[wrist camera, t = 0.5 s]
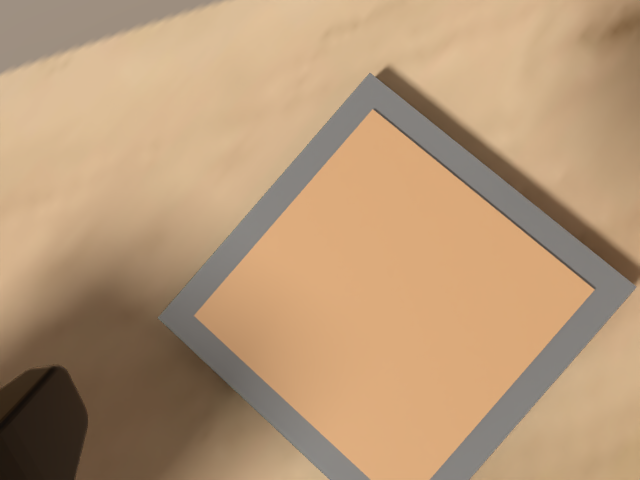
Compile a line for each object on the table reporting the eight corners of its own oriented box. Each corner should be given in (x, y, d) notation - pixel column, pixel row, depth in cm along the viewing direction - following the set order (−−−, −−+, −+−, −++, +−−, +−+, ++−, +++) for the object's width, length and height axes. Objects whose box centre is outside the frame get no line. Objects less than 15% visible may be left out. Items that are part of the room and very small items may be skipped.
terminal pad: (627, 287, 22) (637, 286, 21) (405, 542, 22) (406, 552, 21) (370, 80, 23) (369, 71, 22) (165, 317, 23) (156, 318, 22)
